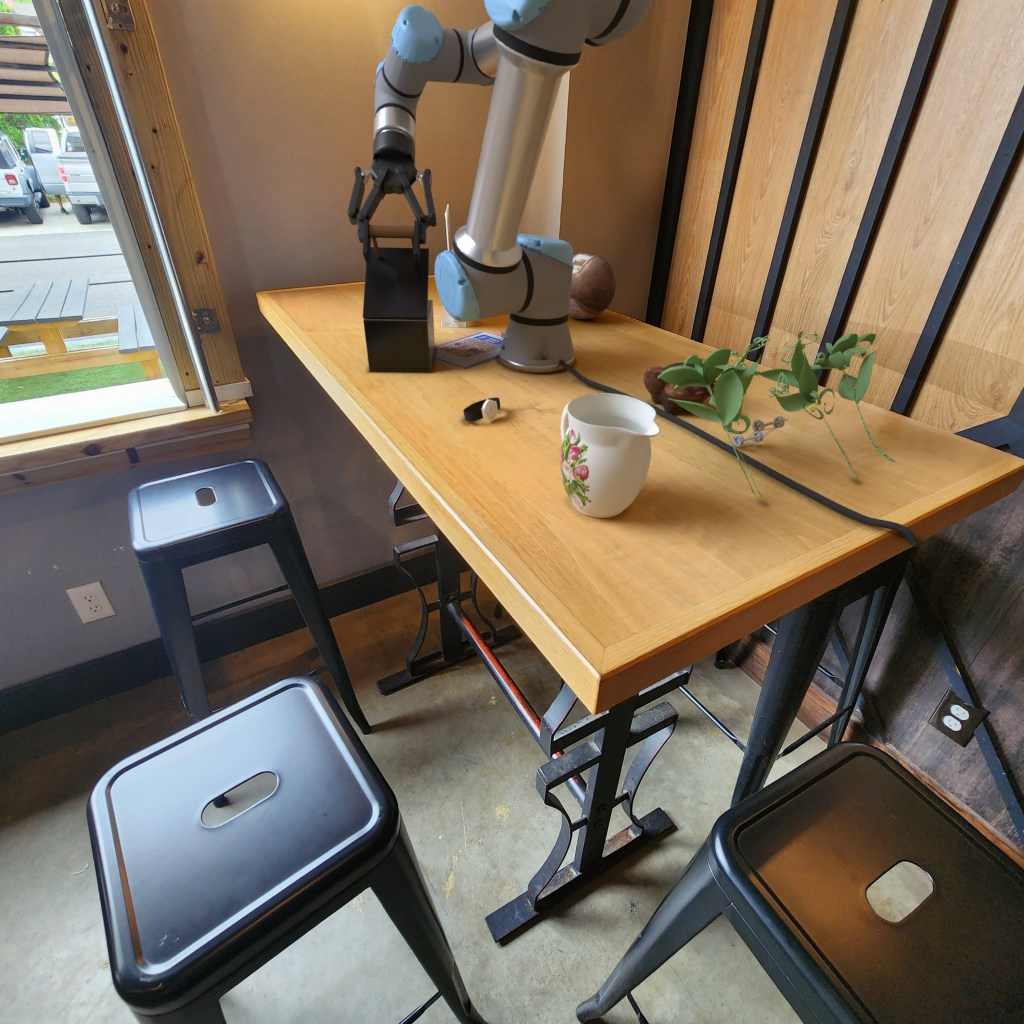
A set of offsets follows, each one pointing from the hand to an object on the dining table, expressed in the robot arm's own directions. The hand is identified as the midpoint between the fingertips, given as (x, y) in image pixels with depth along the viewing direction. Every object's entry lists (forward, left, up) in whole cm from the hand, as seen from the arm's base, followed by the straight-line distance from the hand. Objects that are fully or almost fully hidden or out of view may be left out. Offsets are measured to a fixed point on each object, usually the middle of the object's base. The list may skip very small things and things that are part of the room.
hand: (391, 258), depth 100 cm
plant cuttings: (-68, -8, -20) cm, 72 cm away
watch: (-26, +7, -20) cm, 34 cm away
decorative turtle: (-50, -18, -20) cm, 57 cm away
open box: (+3, -4, -20) cm, 21 cm away
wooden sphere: (-9, -53, -20) cm, 58 cm away
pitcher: (-53, +17, -20) cm, 59 cm away
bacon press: (+3, -3, -5) cm, 7 cm away
